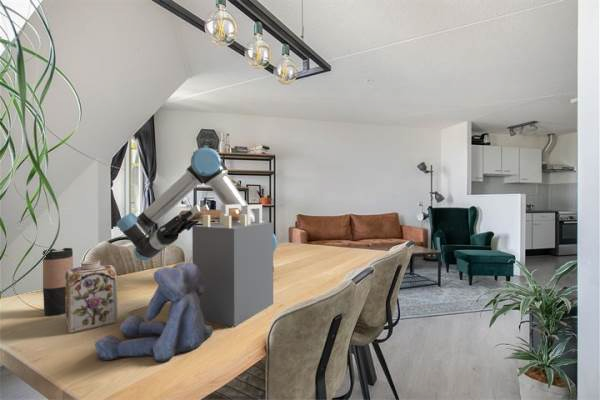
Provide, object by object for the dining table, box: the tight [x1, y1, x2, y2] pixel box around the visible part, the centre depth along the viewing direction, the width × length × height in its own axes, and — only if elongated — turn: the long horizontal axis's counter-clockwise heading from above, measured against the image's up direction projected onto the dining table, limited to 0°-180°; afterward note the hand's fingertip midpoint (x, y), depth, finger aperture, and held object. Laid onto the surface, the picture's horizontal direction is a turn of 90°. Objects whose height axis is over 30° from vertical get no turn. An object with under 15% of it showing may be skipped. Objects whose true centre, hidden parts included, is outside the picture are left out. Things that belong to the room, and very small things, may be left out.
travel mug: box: [42, 247, 74, 317], centre depth 99 cm, size 8×8×20 cm
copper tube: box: [178, 209, 242, 222], centre depth 111 cm, size 26×4×4 cm, turn 64°
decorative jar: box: [65, 260, 119, 334], centre depth 90 cm, size 12×12×18 cm
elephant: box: [94, 260, 214, 362], centre depth 78 cm, size 21×25×21 cm
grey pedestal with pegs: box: [191, 204, 274, 328], centre depth 100 cm, size 21×16×34 cm
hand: (203, 207), depth 112 cm, fingers closed on copper tube, 4 cm apart
